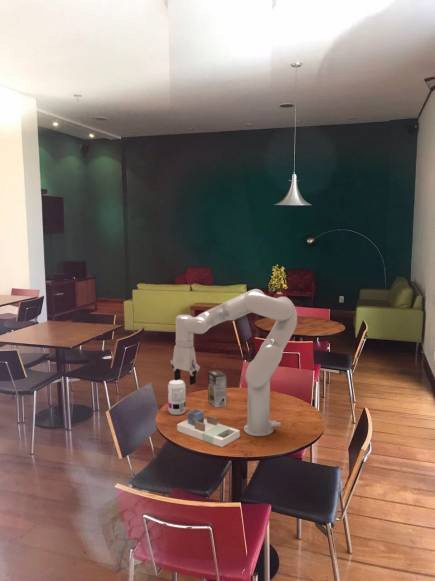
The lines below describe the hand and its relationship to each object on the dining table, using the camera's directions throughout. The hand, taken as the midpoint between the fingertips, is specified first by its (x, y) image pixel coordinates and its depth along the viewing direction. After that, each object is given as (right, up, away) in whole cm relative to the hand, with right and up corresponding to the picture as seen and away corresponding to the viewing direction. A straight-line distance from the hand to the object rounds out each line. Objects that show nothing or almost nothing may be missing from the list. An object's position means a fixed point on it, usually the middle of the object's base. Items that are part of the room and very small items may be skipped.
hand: (185, 381), depth 206 cm
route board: (+10, -21, -6) cm, 24 cm away
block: (+5, -18, -2) cm, 18 cm away
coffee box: (+14, -17, +29) cm, 37 cm away
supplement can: (-5, -18, +19) cm, 27 cm away
